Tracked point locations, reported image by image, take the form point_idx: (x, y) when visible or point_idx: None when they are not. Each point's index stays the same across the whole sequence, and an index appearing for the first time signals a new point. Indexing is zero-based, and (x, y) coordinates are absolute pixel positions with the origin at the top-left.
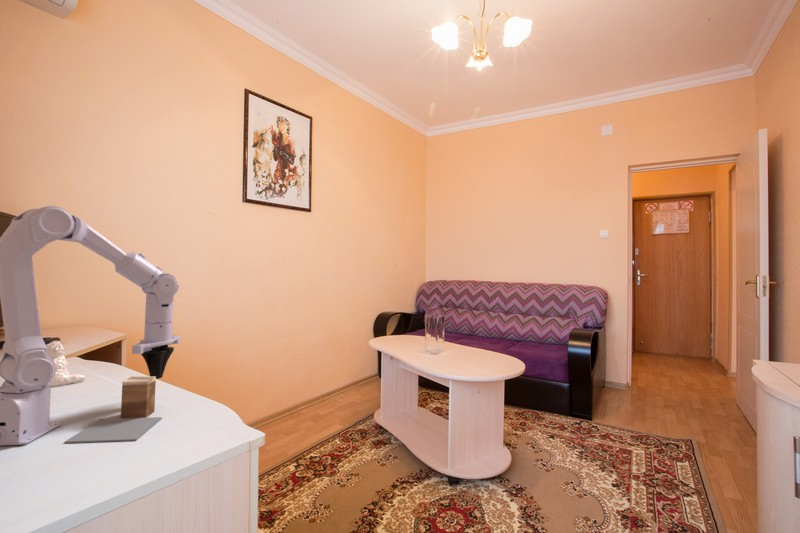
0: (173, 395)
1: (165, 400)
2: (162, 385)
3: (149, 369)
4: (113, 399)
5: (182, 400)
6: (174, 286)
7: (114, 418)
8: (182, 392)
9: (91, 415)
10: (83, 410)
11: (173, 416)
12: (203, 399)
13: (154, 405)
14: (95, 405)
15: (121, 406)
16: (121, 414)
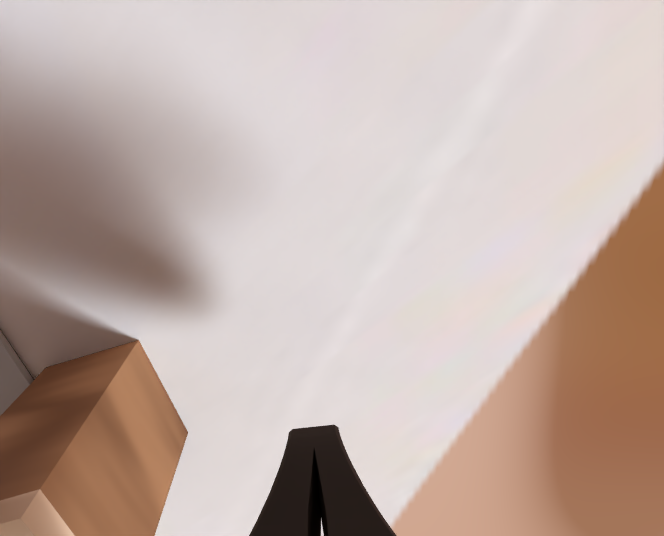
0: (442, 350)
1: (353, 369)
2: (652, 141)
3: (276, 492)
4: (302, 50)
5: (369, 439)
6: None
7: (11, 360)
8: (500, 358)
9: (8, 182)
10: (48, 43)
11: (164, 532)
12: (400, 506)
13: (178, 457)
14: (157, 34)
15: (4, 412)
16: (34, 383)
